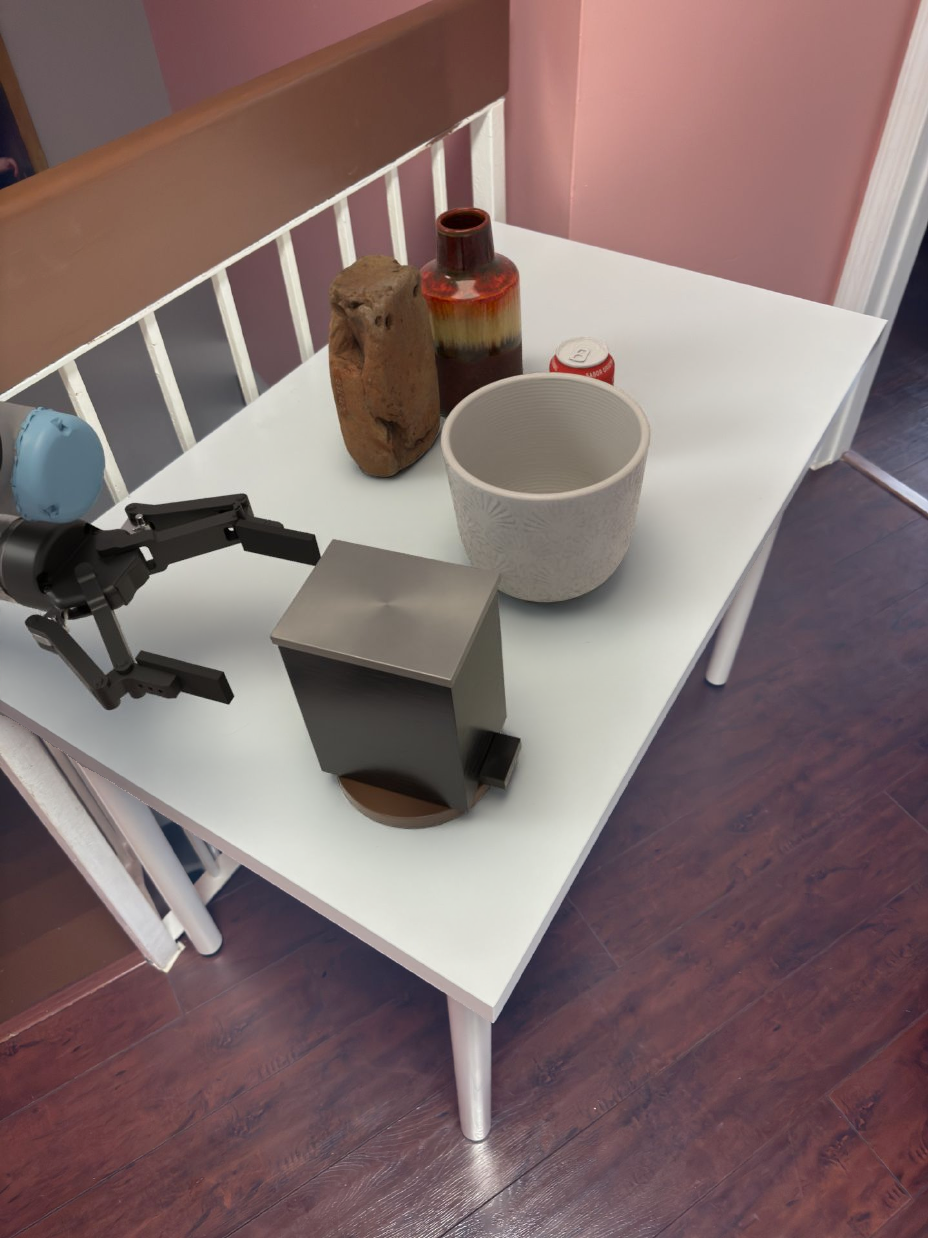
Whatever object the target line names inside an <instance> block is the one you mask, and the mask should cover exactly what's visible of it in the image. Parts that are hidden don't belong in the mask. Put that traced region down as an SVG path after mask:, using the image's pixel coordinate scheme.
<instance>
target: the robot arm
mask: <svg viewBox="0 0 928 1238" xmlns="http://www.w3.org/2000/svg"><path fill="white" fill-rule="evenodd" d="M105 469H106V456H105V450H104V447H103V443H102V442H101V439H100V436H99V435H98V433H97V432H96V431H95V429H94V428H93V427H92V426H91V424H90V423H88V422H87V421H86V420H84V419H82V418H81V417H79V416H76V415H74V414H69V413H65V412H60V411H56V410H54V409H52V408H50V407H46V406H44V407H43V406H37V407H34V406H29V405H23V404H17V403H12V402H8V401H3V400H0V601H5V602H9V603H13V604H16V605H21V606H23V607H25V608H30V609H34V610H38V611H42V612H45V613H44V614H43V615H42V614H38V613H36V614H32V615H29V616H28V617H27V618H26V619H25V620H24V625H25V627H26V629H27V630H28V631H29V633H30V634H31V636H32V637H33V638H34V640H35V642H36V644H37V645H38V647H39V648H41V649H43V650H45V651H48V652H50V653H52V654H55V655H57V656H59V658H60V659H61V660H62V661H63V662H64V663H65V664H66V666H67V667H68V668H69V669H70V670H71V671H72V673H73V674H74V675H75V676H76V678H77V679H78V680H79V681H80V682H81V683H82V685H84V687H85V688H86V689H87V690H88V691H89V693H90V694H91V695H92V696H93V697H94V699H96V701H97V702H98V703H99V704H100V705H101V707H102V708H103V709H104V710H106V711H114V710H116V709H117V708H119V706H121V702H122V700H121V699H122V698H123V697H125V696H126V695H127V694H128V695H129V696H130V698H132V699H134V700H138V699H142V698H144V696H146V695H147V694H148V695H149V694H150V695H153V696H157V697H161V698H162V699H163V698H164V699H167V700H171V699H172V700H173V699H177V698H178V696H179V694H180V693H182V694H183V693H184V694H188V695H191V696H195V697H199V698H201V699H206V700H210V701H214V702H217V703H221V704H224V705H228V706H230V705H231V702H232V701H233V700H234V698H235V693H234V692H233V689H232V687H231V685H230V682H229V680H228V678H227V676H226V674H225V671H223V670H218V669H215V668H211V667H208V666H204V665H201V664H195V663H192V662H189V661H185V660H180V659H177V658H172V657H168V656H165V655H161V654H157V653H153V652H150V651H146V650H142V649H141V650H140V651H139V652H138V653H137V655H136V656H135V657H134V656H133V654H132V651H131V649H130V647H129V644H128V642H127V639H126V637H125V635H124V633H123V630H122V628H121V624H120V622H119V620H118V617H117V614H116V612H115V610H118V609H120V608H122V607H123V606H126V607H127V606H129V605H130V603H131V602H132V601H133V599H134V597H135V595H136V592H137V591H138V590H139V589H141V588H142V587H143V586H144V585H145V584H146V583H147V582H148V580H149V579H150V578H151V576H152V575H153V576H154V575H155V574H159V573H162V572H163V573H164V572H165V571H166V570H167V569H168V567H169V565H172V564H175V563H178V562H182V561H185V560H189V559H192V558H196V557H199V556H202V555H205V554H209V553H212V552H216V551H219V550H222V549H225V548H229V547H232V546H236V545H239V544H241V546H242V549H243V551H244V552H247V553H252V554H255V555H256V554H257V555H260V556H265V557H270V558H275V559H280V560H284V561H288V562H294V563H297V564H298V563H299V564H302V565H303V564H304V565H307V566H312V567H315V566H316V564H317V563H318V561H319V560H320V558H321V556H322V554H321V551H320V547H319V544H318V541H317V537H316V534H315V533H310V532H305V531H301V530H295V529H292V528H291V529H290V528H286V527H285V526H284V524H283V523H281V522H280V521H276V520H271V519H267V518H263V517H258V516H255V514H254V511H253V507H252V504H251V501H250V499H249V496H248V494H247V493H244V492H242V493H241V492H240V493H233V494H225V495H218V496H210V497H203V498H202V497H201V498H195V499H187V500H180V501H173V502H166V503H157V504H151V503H141V502H131V503H128V504H126V506H125V507H124V513H125V514H126V516H127V518H126V520H125V521H124V523H123V524H122V526H121V527H120V528H114V529H101V528H99V527H97V526H95V525H94V524H92V523H90V522H88V521H86V520H84V519H81V518H82V517H84V516H85V515H86V514H88V512H89V511H90V510H91V509H92V508H93V506H94V505H95V504H96V502H97V501H98V500H99V496H100V494H101V493H102V489H103V486H104V476H105ZM141 548H147V549H148V551H149V554H150V555H151V557H152V558H151V559H148V560H147V559H146V556H145V555H144V553H143V551H142V549H141ZM92 616H93V619H94V621H95V624H96V627H97V628H98V631H99V634H100V636H101V639H102V642H103V644H104V647H105V649H106V651H107V654H108V656H109V659H110V661H111V664H112V666H113V668H112V670H110V671H109V672H108V673H106V674H105V673H104V671H103V670H102V669H101V668H100V667H99V666H98V664H97V663H96V662H95V661H94V660H93V658H91V657H90V655H89V654H88V653H87V652H86V651H85V650H84V649H83V648H82V647H81V646H80V644H79V643H78V642H77V640H76V639H74V638H73V637H72V635H71V634H70V633H69V632H70V627H69V625H68V624H67V620H68V621H75V620H80V619H84V618H88V617H92Z"/></svg>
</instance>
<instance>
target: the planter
mask: <svg viewBox="0 0 928 1238" xmlns="http://www.w3.org/2000/svg"><path fill="white" fill-rule="evenodd" d="M650 444H651V427H650V422H649V420H648V417H647V416H646V413H645V412H644V410H643V409H642V407H641V406H640V405H639V404H638V402H637V401H636V400H635V399H634V398H633V397H631V396H630V395H629V394H627V393H626V392H624V391H623V390H622V389H620V388H618V387H617V386H615V385H614V386H612V385H610V384H608V383H606V382H603V381H600V380H597V379H594V378H591V377H586V376H582V375H576V374H569V373H555V372H549V371H548V372H547V371H545V372H532V373H525V374H524V373H523V375H518V376H513V377H509V378H505V379H502V380H499V381H496V382H493V383H491V384H488V385H486V386H484V387H482V388H480V389H478V390H476V391H475V392H473V393H471V394H470V395H468V396H467V397H466V398H464V399H463V400H462V401H461V402H460V403H459V404H458V405H456V407H455V408H454V409H453V410H452V411H451V413H450V414H449V416H448V417H447V418H446V419H445V421H444V423H443V425H442V429H441V435H440V447H441V452H442V456H443V457H442V458H443V461H444V466H445V470H446V471H445V472H446V476H447V481H448V485H449V491H450V494H451V500H452V505H453V510H454V514H455V519H456V524H457V529H458V534H459V537H460V542H461V544H462V547H463V549H464V551H465V554H466V556H467V557H468V559H469V562H470V563H471V565H472V567H473V568H478V569H483V570H488V571H493V572H497V573H501V583H500V585H499V587H498V591H500V592H502V593H504V594H506V595H508V596H510V597H513V598H516V599H520V600H524V601H528V602H533V603H557V602H562V601H566V600H571V599H575V598H578V597H580V596H583V595H585V594H587V593H589V592H591V591H593V590H595V589H596V588H598V587H599V586H602V584H603V583H604V582H606V581H607V580H608V579H609V578H610V577H611V576H612V575H613V573H614V572H615V571H616V570H617V568H618V567H619V566H620V564H621V563H622V561H623V559H624V558H625V556H626V553H628V552H627V551H628V549H629V547H630V544H631V541H632V539H633V535H634V531H635V526H636V521H637V514H638V510H639V505H640V498H641V494H642V487H643V483H644V477H645V472H646V465H647V460H648V454H649V450H650V449H649V448H650Z"/></svg>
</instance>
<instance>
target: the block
mask: <svg viewBox="0 0 928 1238" xmlns="http://www.w3.org/2000/svg"><path fill="white" fill-rule="evenodd" d="M328 288H329V289H328V296H329V297H328V298H329V304H330V316H331V319H330V322H329V324H328V329H329V333H328V337H327V339H328V345H327V347H328V349H327V350H328V370H329V378H330V386H331V391H332V395H333V401H334V405H335V410H336V414H337V418H338V422H339V427H340V432H341V436H342V440H343V443H344V446H345V448H346V451H347V452H348V455H349V456H350V457H351V458H352V460H353V462H354V463H355V464H356V465H357V466H358V468H359V470H360V471H362V473H364V474H367V475H370V476H374V477H379V478H389V477H392V476H393V475H396V474H397V473H399V472H400V471H401V470H403V469H405V468H407V467H409V466H411V465H413V464H414V463H416V461H418V460H419V459H420V458H421V457H422V455H424V454H425V453H426V452H427V451H428V450H429V449H430V448H431V446H432V445H433V443H434V441H435V440H436V438H437V437H438V436H439V432H440V429H441V415H440V399H439V386H438V376H437V369H436V365H435V354H434V345H433V335H432V330H431V324H430V322H429V314H428V307H427V303H426V301H425V299H424V297H423V296H422V278H421V273H420V270H419V268H418V267H417V266H414V265H412V264H402V265H401V264H400V262H399V261H398V260H397V259H395V258H394V257H392V256H389V255H384V254H371V253H370V254H368V255H364V256H361V257H359V258H358V259H356V260H355V261H354V262H353V263H352V264H351V265H349V266H347V267H345V268H343V269H342V270H340V272H339V273H337V274H336V275H335V277H334V278H333V280H332V281H331V282H330V284H329V287H328Z"/></svg>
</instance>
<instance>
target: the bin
mask: <svg viewBox="0 0 928 1238" xmlns="http://www.w3.org/2000/svg"><path fill="white" fill-rule="evenodd" d="M500 583H501V573H497V572H493V571H488V570H483V569H478V568H475V567H474V566H468V565H463V564H458V563H453V562H449V561H443V560H440V559H439V560H438V559H433V558H428V557H423V556H420V555H413V554H410V553H404V552H401V551H400V552H399V551H394V550H389V549H384V548H380V547H374V546H369V545H366V544H359V543H355V542H351V541H346V540H341V539H335V538H332V540H331V541H330V542H329V545H327V548H326V549H325V550H324V552H323V553H322V554H321V558H320V560H319V561H318V563H317V564H316V566H313V569H312V570H311V572H310V573H309V575H308V577H307V578H306V579H305V581H304V583H303V584H302V586H301V587H300V589H299V590H298V592H297V593H296V595H295V596H294V598H293V599H292V601H291V602H290V604H289V605H288V607H287V609H286V611H285V612H284V613H283V615H282V616H281V618H280V620H279V621H278V623H277V624H276V626H275V627H274V629H273V630H272V632H271V634H269V638H270V641H271V644H272V645H276V646H277V648H278V651H279V653H280V656H281V659H282V662H283V665H284V667H285V671H286V673H287V677H288V679H289V682H290V685H291V688H292V690H293V693H294V697H295V700H296V702H297V705H298V708H299V711H300V713H301V716H302V720H303V722H304V724H305V727H306V730H307V732H308V733H307V734H308V736H309V740H310V741H311V744H312V748H313V750H314V753H315V756H316V759H317V762H318V764H319V768H320V770H321V772H324V773H328V774H331V775H335V776H337V775H338V776H341V777H345V778H348V779H352V780H355V781H359V782H362V783H366V784H369V785H373V786H376V787H380V788H383V789H387V790H390V791H394V792H397V793H401V794H404V795H408V796H411V797H415V798H418V799H422V800H425V801H429V802H432V803H436V804H439V805H443V806H446V807H450V808H453V809H457V810H460V811H464V813H468V814H469V813H470V810H471V808H472V807H471V805H472V802H473V800H474V797H475V795H476V792H477V790H478V787H479V785H480V783H481V784H484V785H488V786H490V787H493V788H495V789H499V790H502V791H505V790H506V789H507V786H508V784H509V780H510V778H511V776H512V773H513V770H514V767H515V765H516V763H517V759H518V757H519V755H520V752H521V750H522V738H521V737H518V736H514V735H510V734H505V733H502V730H503V727H504V725H505V723H506V720H507V717H508V716H507V715H508V714H507V701H506V685H505V671H504V658H503V641H502V630H501V629H502V627H501V614H500V613H501V611H500V600H499V599H500V598H499V590H498V587H499V585H500ZM470 807H471V808H470Z"/></svg>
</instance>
